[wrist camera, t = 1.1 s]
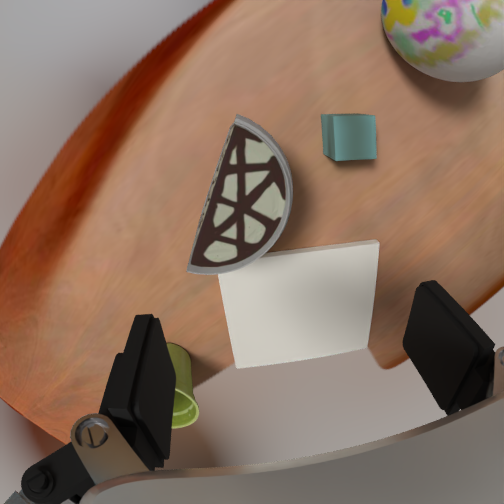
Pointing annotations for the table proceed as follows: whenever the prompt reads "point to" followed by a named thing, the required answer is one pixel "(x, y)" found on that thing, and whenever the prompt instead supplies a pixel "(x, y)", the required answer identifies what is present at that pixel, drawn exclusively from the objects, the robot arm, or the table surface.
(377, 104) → the table surface
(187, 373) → the plant pot
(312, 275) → the cream board
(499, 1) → the decorative egg
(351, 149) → the teal block
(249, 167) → the food container
